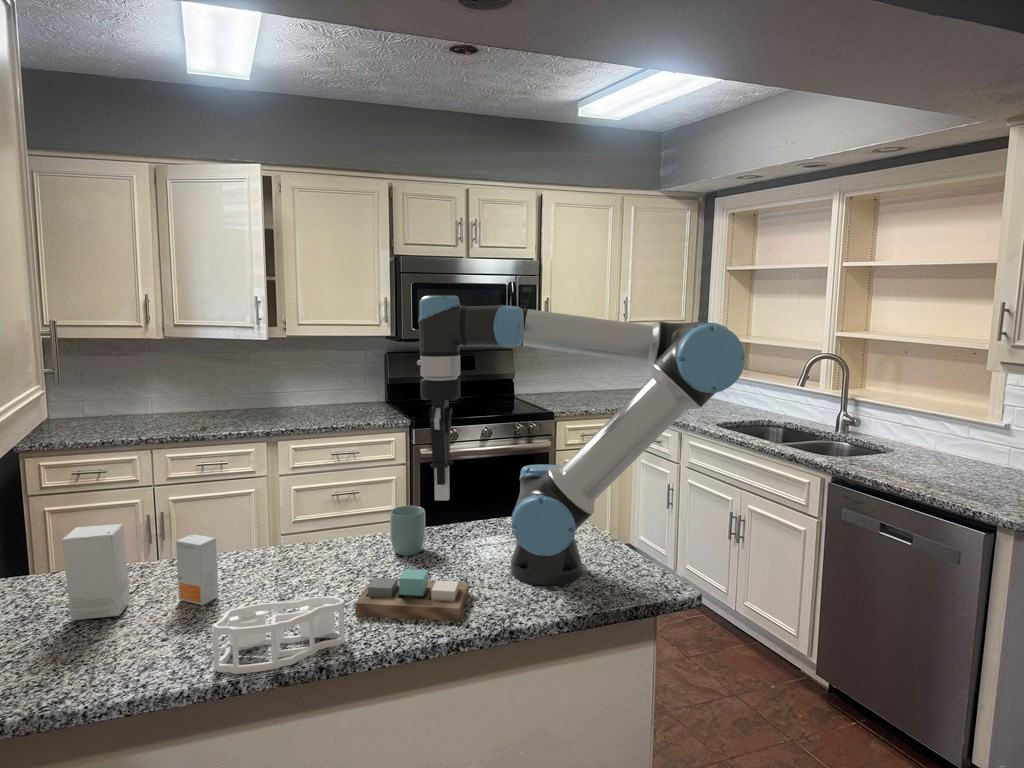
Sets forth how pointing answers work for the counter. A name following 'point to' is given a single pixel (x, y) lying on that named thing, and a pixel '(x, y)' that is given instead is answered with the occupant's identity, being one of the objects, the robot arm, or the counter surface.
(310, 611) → the car outline toy
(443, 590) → the key
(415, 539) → the cup
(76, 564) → the skincare box
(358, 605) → the keypad
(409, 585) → the key
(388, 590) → the key
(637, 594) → the counter surface
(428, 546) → the counter surface
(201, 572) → the skincare box
